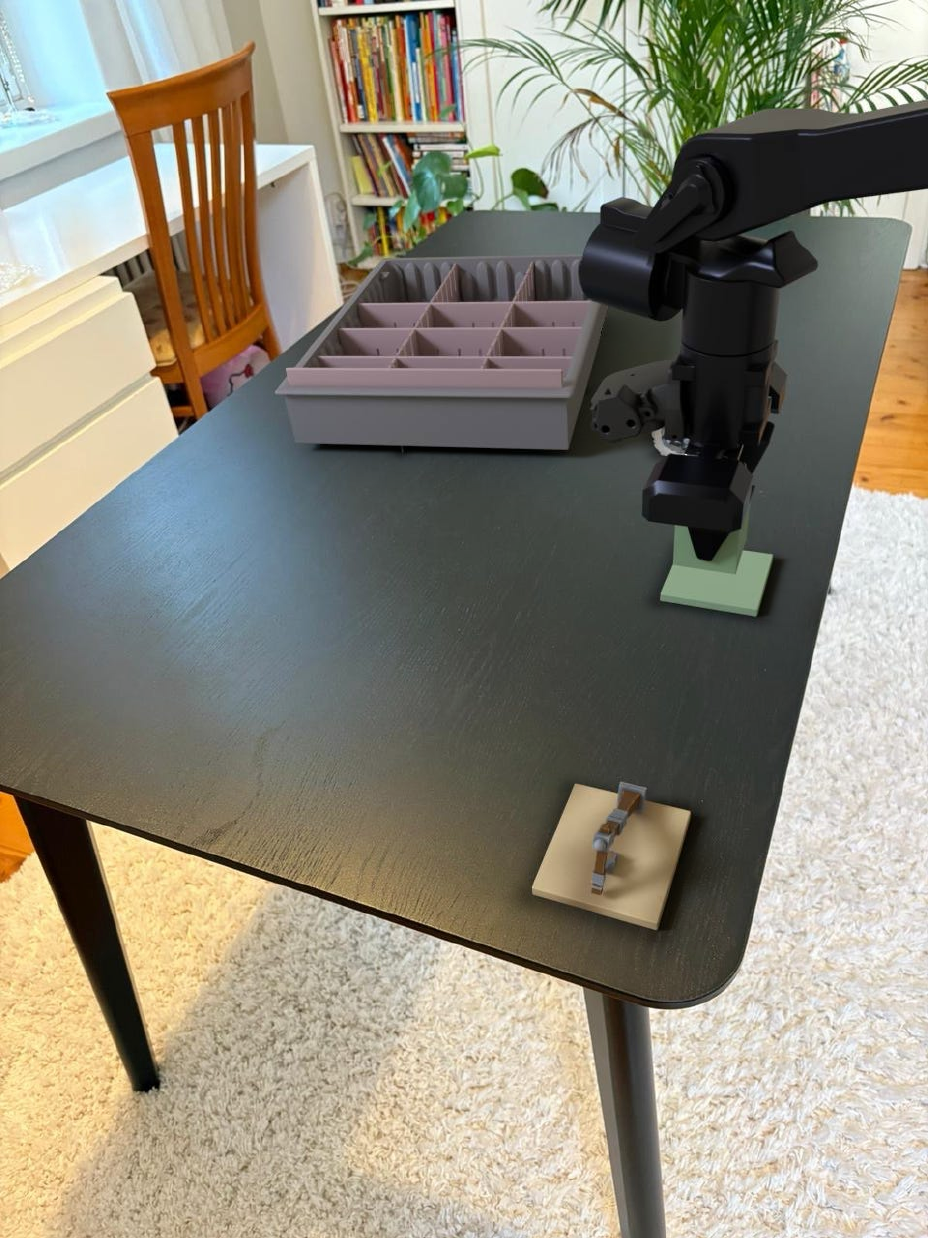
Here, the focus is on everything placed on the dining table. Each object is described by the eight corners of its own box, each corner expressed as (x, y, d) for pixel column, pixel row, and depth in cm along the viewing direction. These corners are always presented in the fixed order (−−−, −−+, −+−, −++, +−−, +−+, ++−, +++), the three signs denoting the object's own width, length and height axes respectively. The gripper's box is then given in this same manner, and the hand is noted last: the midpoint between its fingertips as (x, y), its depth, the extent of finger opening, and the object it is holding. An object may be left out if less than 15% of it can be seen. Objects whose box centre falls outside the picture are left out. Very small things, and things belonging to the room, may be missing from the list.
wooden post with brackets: (576, 897, 59) (585, 831, 58) (612, 839, 66) (620, 778, 65) (605, 906, 58) (614, 839, 57) (638, 846, 65) (647, 785, 64)
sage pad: (772, 561, 85) (773, 554, 85) (756, 617, 80) (757, 609, 79) (681, 548, 88) (682, 541, 88) (660, 601, 83) (660, 593, 82)
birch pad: (690, 818, 65) (691, 810, 64) (657, 931, 59) (657, 923, 58) (575, 790, 68) (575, 782, 67) (532, 895, 61) (531, 887, 61)
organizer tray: (616, 312, 131) (615, 237, 125) (574, 465, 101) (571, 376, 95) (389, 314, 139) (378, 243, 132) (289, 457, 109) (269, 374, 103)
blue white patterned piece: (693, 419, 106) (694, 403, 105) (733, 451, 100) (734, 435, 99) (637, 435, 105) (637, 419, 104) (675, 468, 99) (675, 452, 98)
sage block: (746, 539, 73) (752, 487, 70) (735, 574, 70) (740, 522, 67) (686, 530, 74) (689, 480, 71) (672, 564, 71) (675, 513, 68)
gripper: (639, 276, 71) (635, 463, 81) (559, 392, 58) (567, 598, 68) (799, 284, 67) (774, 479, 77) (751, 411, 54) (730, 626, 64)
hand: (711, 540), depth 71 cm, fingers closed on sage block, 4 cm apart
